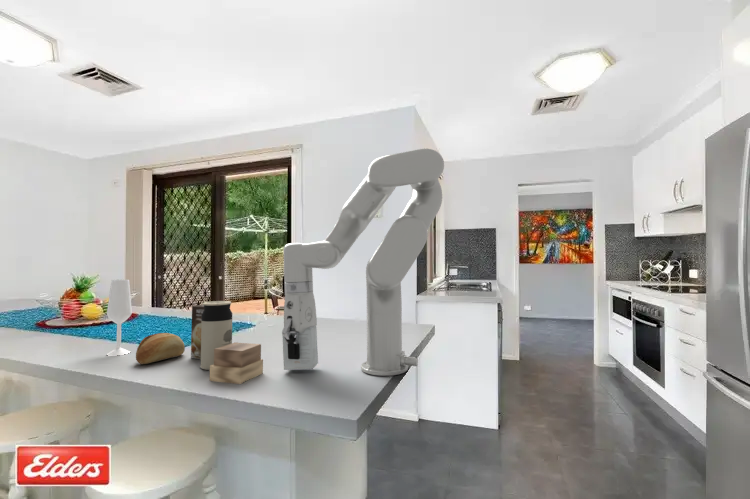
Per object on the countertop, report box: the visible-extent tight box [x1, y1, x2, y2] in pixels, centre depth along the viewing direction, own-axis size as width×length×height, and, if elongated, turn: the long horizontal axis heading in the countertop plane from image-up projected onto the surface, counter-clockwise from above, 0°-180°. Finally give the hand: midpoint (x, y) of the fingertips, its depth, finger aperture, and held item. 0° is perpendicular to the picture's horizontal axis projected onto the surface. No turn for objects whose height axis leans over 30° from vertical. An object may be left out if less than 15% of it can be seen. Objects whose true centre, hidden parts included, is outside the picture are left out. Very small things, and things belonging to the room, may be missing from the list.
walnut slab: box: [214, 341, 262, 368], centre depth 91 cm, size 8×8×4 cm
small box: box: [281, 325, 319, 371], centre depth 95 cm, size 8×6×10 cm
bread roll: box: [135, 332, 186, 365], centre depth 107 cm, size 10×15×8 cm, turn 164°
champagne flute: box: [106, 279, 133, 357], centre depth 116 cm, size 7×7×24 cm
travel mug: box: [200, 300, 233, 371], centre depth 100 cm, size 8×8×18 cm
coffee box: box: [190, 304, 205, 360], centre depth 111 cm, size 9×6×16 cm
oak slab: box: [209, 358, 264, 385], centre depth 90 cm, size 9×9×4 cm
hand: (300, 354), depth 95 cm, fingers closed on small box, 6 cm apart
